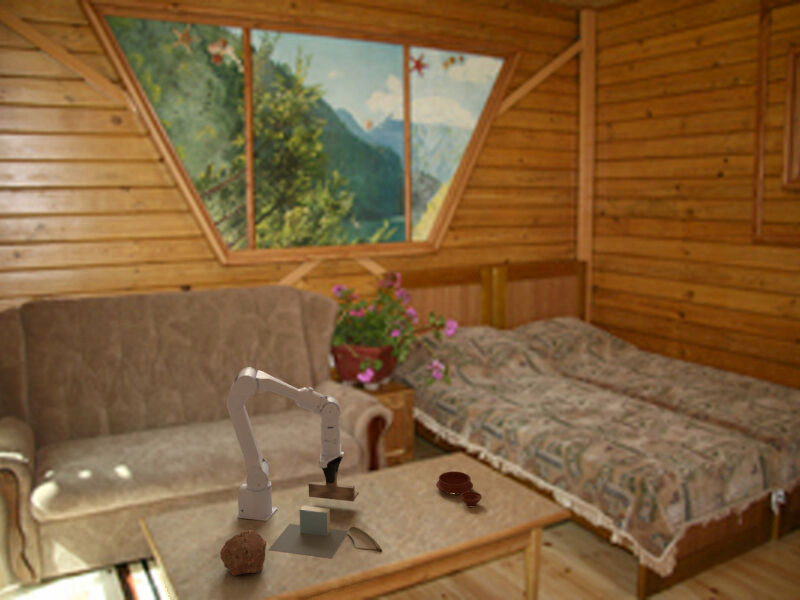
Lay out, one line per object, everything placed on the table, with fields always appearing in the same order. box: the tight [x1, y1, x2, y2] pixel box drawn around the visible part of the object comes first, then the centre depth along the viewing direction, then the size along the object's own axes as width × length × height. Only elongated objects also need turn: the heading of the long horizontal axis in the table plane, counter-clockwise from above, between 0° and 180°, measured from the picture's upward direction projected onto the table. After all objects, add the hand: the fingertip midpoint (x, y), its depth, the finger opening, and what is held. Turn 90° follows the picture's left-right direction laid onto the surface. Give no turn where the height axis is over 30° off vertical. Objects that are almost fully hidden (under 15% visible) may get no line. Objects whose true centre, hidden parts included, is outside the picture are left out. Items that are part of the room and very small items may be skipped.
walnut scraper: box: [308, 472, 359, 502], centre depth 216 cm, size 14×6×8 cm, turn 76°
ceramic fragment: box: [346, 525, 383, 552], centre depth 196 cm, size 14×5×4 cm, turn 41°
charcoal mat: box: [268, 523, 349, 559], centre depth 197 cm, size 18×15×1 cm
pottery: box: [436, 471, 483, 507], centre depth 225 cm, size 12×20×4 cm, turn 23°
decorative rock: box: [219, 529, 267, 576], centre depth 182 cm, size 13×11×10 cm
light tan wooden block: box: [299, 505, 331, 536], centre depth 201 cm, size 8×2×7 cm, turn 76°
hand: (331, 481), depth 214 cm, fingers closed on walnut scraper
